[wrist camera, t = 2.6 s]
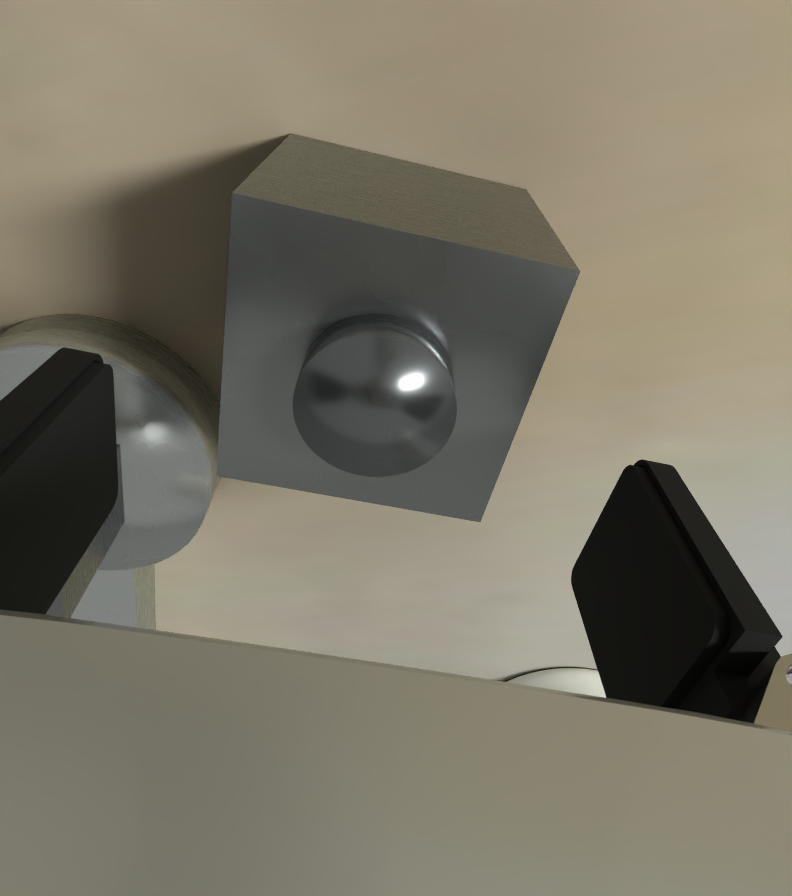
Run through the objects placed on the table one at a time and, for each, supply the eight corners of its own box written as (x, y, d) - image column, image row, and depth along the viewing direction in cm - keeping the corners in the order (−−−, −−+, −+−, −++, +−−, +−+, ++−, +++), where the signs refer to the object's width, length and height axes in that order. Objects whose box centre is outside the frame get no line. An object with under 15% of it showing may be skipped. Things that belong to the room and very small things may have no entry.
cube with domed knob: (290, 133, 15) (216, 208, 9) (526, 189, 15) (594, 293, 10) (268, 351, 18) (203, 505, 13) (462, 390, 19) (484, 553, 13)
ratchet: (-49, 287, 17) (-251, 408, 12) (234, 344, 18) (162, 480, 13) (46, 729, 31) (-29, 878, 25) (207, 749, 32) (166, 897, 26)
